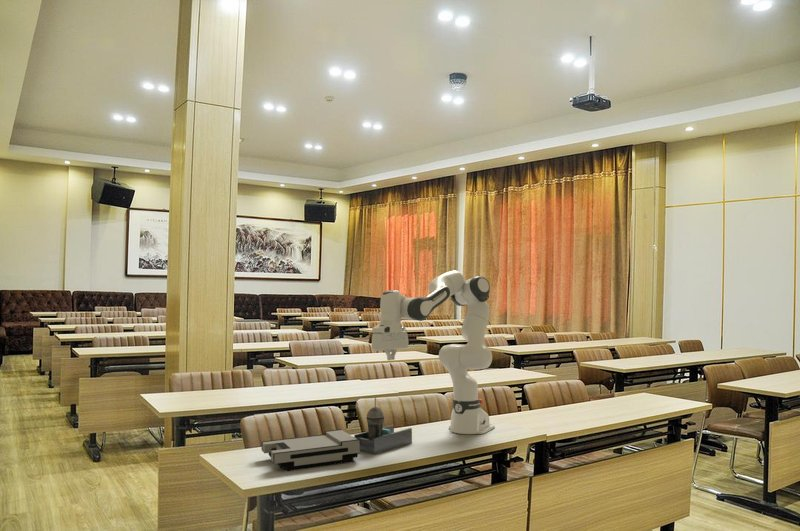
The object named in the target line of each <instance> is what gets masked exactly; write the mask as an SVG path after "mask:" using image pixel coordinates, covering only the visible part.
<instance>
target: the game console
mask: <svg viewBox="0 0 800 531" xmlns="http://www.w3.org/2000/svg"><path fill="white" fill-rule="evenodd" d="M261 452H262V453H264V454H268V456H269V457H270V461H271V462H272V463H273V464H277V465H278V467H280V468H284V469H285V471H287V472H290V471H298V470H299V471H300V470H304V469H312V468H318V467H319V468H320V467H327V466H333V465H341V464H348V463H349V464H350V463H353V462H354V459H355V458H358V457H359V455H358V453H361V451H359V440H358V439H356V438H355V437H354V436H353V435H351V434H349V433H348V432H347V431H344V430H343V429H341V428H339V429H331V430H325V431H324V433H322V434H315V435H306V436H305V435H304V436H299V437H291V438H290V437H289V438H279V439H272V440H263V441H261Z"/></svg>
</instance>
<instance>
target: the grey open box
mask: <svg viewBox="0 0 800 531" xmlns="http://www.w3.org/2000/svg"><path fill="white" fill-rule="evenodd" d="M383 429H389V430H391V433H390V434H387V435H383V436H379V437H376V438H372V440H369V433H368V430H367V431H363V432H359V433H356V434H353V435H354V436H353V437H355V438H356V439H358V440H359V451H360V452H363V453H367V454H371V455H377V454H379V453H384V452H387V451H390V450H393V449H397V448H399V447H402V446H406V445H411V444H412V443H413V428H411V427H409V428H406V429H401V430H398V431H397V430H396V431H395V425H394V424H391V425H390V424H389V425H386V426H383Z"/></svg>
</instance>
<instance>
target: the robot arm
mask: <svg viewBox="0 0 800 531" xmlns="http://www.w3.org/2000/svg"><path fill="white" fill-rule="evenodd" d="M490 289H491V287H490V282H489V280H488V279H487V278H486V277H485V276H481V275H477V276H473V277H472V278H468V279H465V278H464V275H463V273H462V272H460V271H457V270H450V271H447V272H444V273H441V274H440V275H438V276H436V277H435V278H433V279H431V281H430V282H429V284H428V291H429V294H428V295H427V296H420V297H407V296H406V295H403V294H402V293H401V292H400V291H399V289H398V290H397V289H389V290H386V291H384V292H382V293H381V296H380V306H379V308H380V310H379V312H380V323H378V324H376V325H375V326H373V327H372V328H371V332H372V336H371V349H372V350H373V351H375V352H381V351H384V353H385V355H386V359H387V361H394V360H395V359H396V358H395V357H396V354H397V353H398V352H397V350H398V349H407V348H408V347H409V336H408V332H407V330H408V329H407V328H406V327H405V326H402V320H411V321H420V322H421V321H422V322H423V321H425V320H427V319H428V318H429V317H430V315H431V314H432V312H433V311H434V310H435V309H437V307H439V306H441V305H442V304H443V303H445V301H447V300H448V299H449V298H450V299H451V301H452V302H453V304H455V305H456V306H458V307H465V306H467V311H466V314H465V316H464V320H463V323H462V326H461V330H460V334H461V336H462V338H463V339H465V341H467V343H466V344H463V343H461V344H459V343H451V344H446V345H443V346H442V347H441V348H440V350H439V352H438V360H439V363H440V364H441V365H442V366H443V367H444V368H445V369H446V370H447V371H448V373H449V375H450V378H451V381H452V391H453V392H452V393H453V399H452V403H451V404H452V408H453V409H452V410H451V413H450V414H451V416H450V425H448V429H449V430H450V431H451V432H452V433H454V434H458V435H459V434H461V435H476V434H478V435H479V434H480V435H482V434H483V435H484V434H486V433H488V432H489V431H492V430H493V429H495V428H496V426H495V425H494V424H492V423H490V415H489V414H488V413H487V412H486V411H485V410H484V409H483V408H482V407H481V404H482V405H483V404H484V399H481V398H479V389H478V388H479V385H478V382H477V380H476V379H475V378H474V377H472V376H471V375H470V374H469V372H468V370H484V369H488V368H489V367H490V366H491V364H492V361H493V353H492V351H491V349H490V348H489V347H488V346H487V344H486V341H485V335H486V332H487V326H488V324H489V319H490V313H491V312H490V311H491V307H490V304H489V303H488V302H487V301H488V300H489V298H490V295H489V294H490V291H491V290H490Z"/></svg>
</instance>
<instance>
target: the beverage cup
mask: <svg viewBox="0 0 800 531" xmlns="http://www.w3.org/2000/svg"><path fill="white" fill-rule="evenodd" d="M365 418H366V423H367V431H368V433H369V440H372V438H376V437H379V436H382V430H383V427H384V421H385V414H384V411H383V410H382V409H381V408H379V407H378V406H377V396H374V407H371V408H369V410H368V412H367V414H366V417H365Z"/></svg>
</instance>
